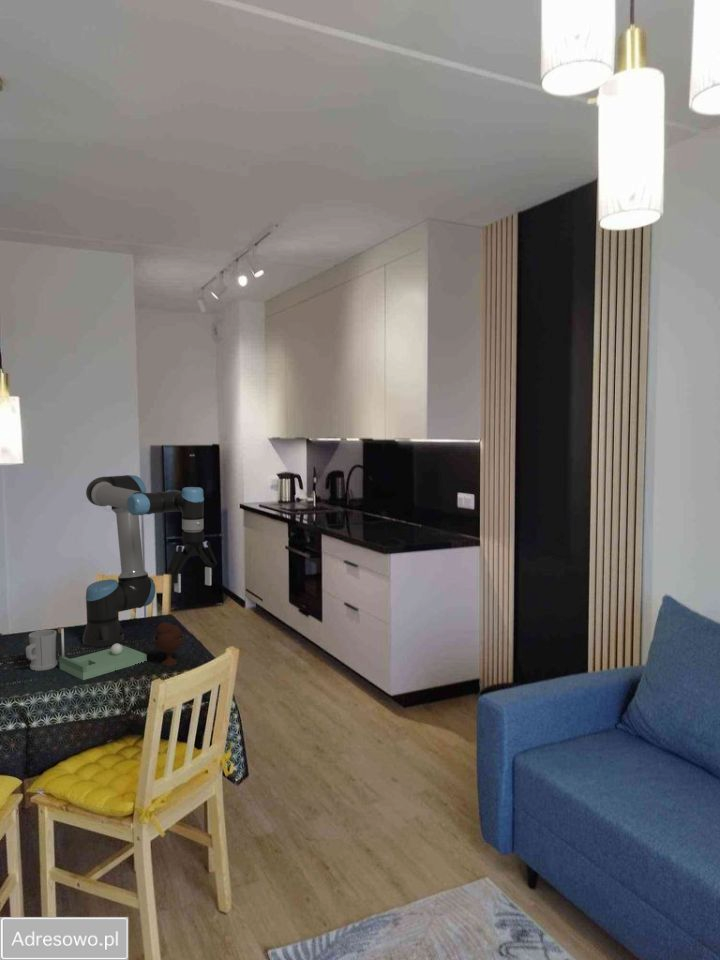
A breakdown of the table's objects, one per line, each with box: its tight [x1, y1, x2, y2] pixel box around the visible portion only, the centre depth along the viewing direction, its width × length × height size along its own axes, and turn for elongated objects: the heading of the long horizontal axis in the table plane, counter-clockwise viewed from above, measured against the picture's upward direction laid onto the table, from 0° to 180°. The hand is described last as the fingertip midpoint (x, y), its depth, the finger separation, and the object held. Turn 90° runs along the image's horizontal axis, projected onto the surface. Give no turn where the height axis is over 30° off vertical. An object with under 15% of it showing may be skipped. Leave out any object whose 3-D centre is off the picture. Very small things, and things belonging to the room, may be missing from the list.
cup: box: [25, 629, 58, 672], centre depth 235 cm, size 10×9×12 cm
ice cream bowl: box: [152, 621, 186, 667], centre depth 240 cm, size 11×11×15 cm
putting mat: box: [57, 626, 148, 681], centre depth 238 cm, size 17×24×14 cm
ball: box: [110, 643, 123, 655], centre depth 242 cm, size 4×4×4 cm
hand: (193, 588), depth 244 cm, fingers open, 13 cm apart
